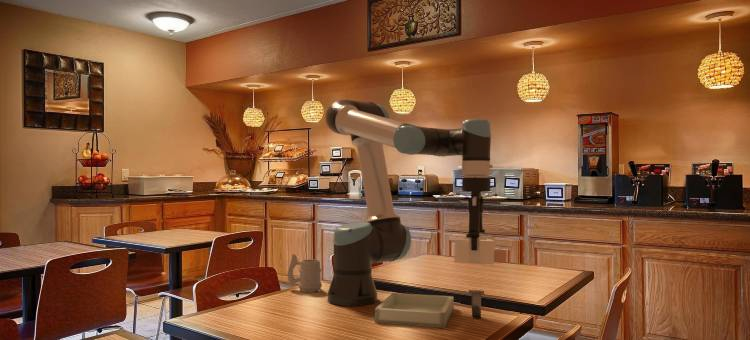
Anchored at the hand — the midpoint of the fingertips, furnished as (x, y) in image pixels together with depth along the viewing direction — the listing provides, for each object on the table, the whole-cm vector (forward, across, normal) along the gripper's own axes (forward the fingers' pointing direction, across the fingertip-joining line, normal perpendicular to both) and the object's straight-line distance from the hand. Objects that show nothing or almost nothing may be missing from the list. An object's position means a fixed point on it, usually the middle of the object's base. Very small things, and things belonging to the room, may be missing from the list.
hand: (475, 259), depth 141 cm
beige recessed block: (0, 0, -1) cm, 1 cm away
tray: (+16, -2, +16) cm, 22 cm away
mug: (+16, +20, +58) cm, 63 cm away
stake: (+16, 0, 0) cm, 16 cm away
